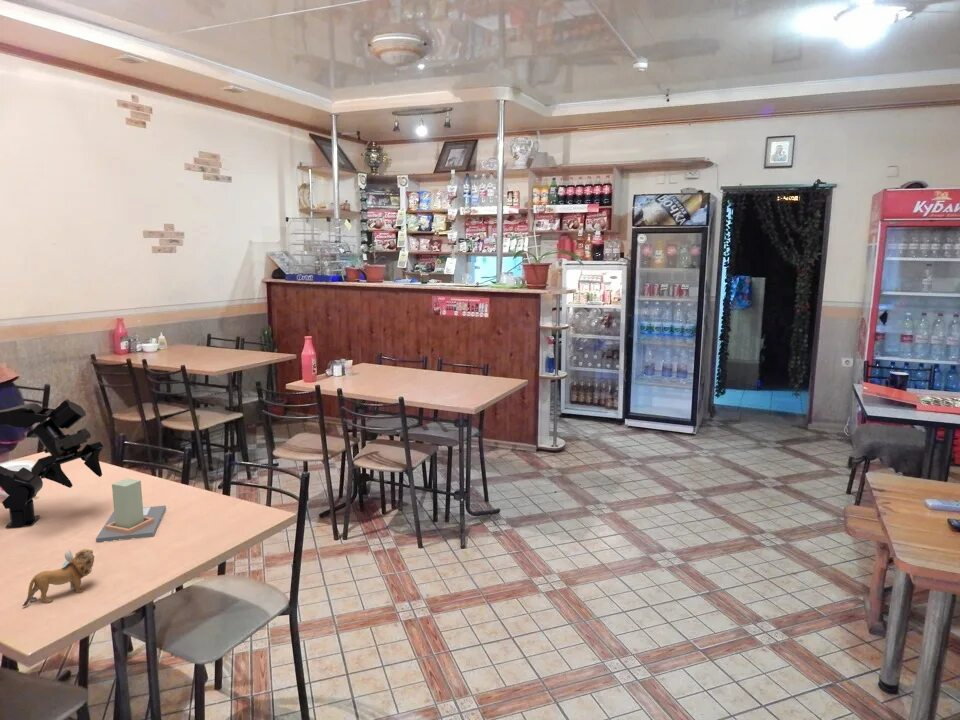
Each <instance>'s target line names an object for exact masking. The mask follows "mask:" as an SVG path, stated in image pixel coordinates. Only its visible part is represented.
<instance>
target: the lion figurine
mask: <svg viewBox="0 0 960 720" xmlns="http://www.w3.org/2000/svg"><path fill="white" fill-rule="evenodd" d="M93 553H94V551H93V550H92V549H88V548H87V549H86V548H83V549H80V550H79V551H77V552H76V553H75V557H73V559H72V560H71V561H70V562H69V563H68V564H67V565H66V566H65V567H63V568H62V567H61V568H57V569H55V570H54V569H53V570H44V571H41V572H38V573H37V574H35V575H34V576H33V577H32V579H31V581H30V582H29V586H28V590H27V591H28V592H27V598H26V600H25V601H24V603H23V604H22V607H26V606H28V605H29V602H35V601H36V600H38V598H37V597H35V596H34V595H35V593H37V592H38V591H39V590H40V598H41V599H42V600H43V601H44V602H45V603H46V604H47V603H48V604H49V603H52V602H53V598H49V597H47V592H48V591H49V588H50V587H49V586H50V585H54V586H61V585H62V586H63V585H65V584H68V583H69V584H70V589H71V590H75V592H76V593H79V594H81V593H83V592H84V591H83V590H84V588H81V584H82V578H85V577H87V576H88V574H90V572H91V571H90V569H91V570H92V567H93V565H94V562H95V556H94V554H93ZM89 571H90V572H89Z"/></svg>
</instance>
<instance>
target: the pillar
mask: <svg viewBox="0 0 960 720" xmlns="http://www.w3.org/2000/svg"><path fill="white" fill-rule="evenodd" d="M111 489H112V502H113V503H112V504H113V512H114V515H115V526H117V527H122V528H127V529H130V528H132V527H134V526H136V525H138V524H140V523H142V522H144V516H143V508H144V505H143V493H142V480H138V479H134V478H130V477H129V478H128V477H127V478H124V479H122V480H120V481H117V482H114V483H111Z"/></svg>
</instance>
